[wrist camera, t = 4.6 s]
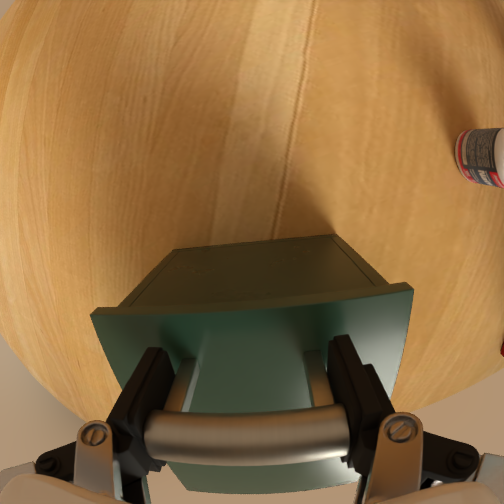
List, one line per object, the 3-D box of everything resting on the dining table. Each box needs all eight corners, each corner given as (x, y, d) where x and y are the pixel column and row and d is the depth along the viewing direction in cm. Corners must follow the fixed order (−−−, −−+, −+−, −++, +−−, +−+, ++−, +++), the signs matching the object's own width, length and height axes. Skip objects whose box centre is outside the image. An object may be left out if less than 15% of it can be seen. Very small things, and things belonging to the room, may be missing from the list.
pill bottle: (451, 175, 20) (518, 186, 11) (454, 123, 18) (519, 116, 10) (484, 187, 20) (546, 202, 11) (487, 139, 18) (548, 141, 10)
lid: (97, 306, 11) (25, 381, 6) (406, 281, 10) (485, 358, 5) (188, 483, 16) (178, 535, 11) (356, 474, 15) (367, 527, 10)
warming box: (172, 249, 23) (103, 321, 11) (336, 233, 22) (403, 297, 11) (208, 393, 27) (188, 482, 16) (332, 384, 27) (355, 473, 15)
